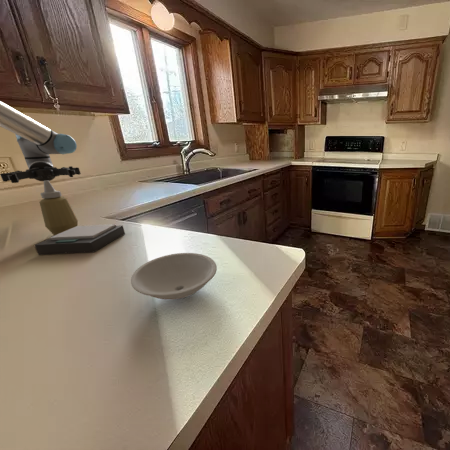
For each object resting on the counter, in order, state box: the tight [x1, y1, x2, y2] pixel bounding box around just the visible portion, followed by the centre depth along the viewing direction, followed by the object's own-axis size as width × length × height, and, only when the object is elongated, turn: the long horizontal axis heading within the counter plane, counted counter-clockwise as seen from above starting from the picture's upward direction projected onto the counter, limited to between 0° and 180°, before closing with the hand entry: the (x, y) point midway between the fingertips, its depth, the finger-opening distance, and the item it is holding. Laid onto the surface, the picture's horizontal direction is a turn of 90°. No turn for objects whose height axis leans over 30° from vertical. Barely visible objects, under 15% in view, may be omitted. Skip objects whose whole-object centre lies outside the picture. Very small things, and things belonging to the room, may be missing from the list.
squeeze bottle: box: [39, 180, 79, 236], centre depth 80 cm, size 8×8×18 cm
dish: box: [130, 252, 218, 301], centre depth 48 cm, size 18×14×5 cm
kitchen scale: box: [33, 223, 126, 256], centre depth 74 cm, size 15×14×4 cm
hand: (44, 175), depth 83 cm, fingers open, 13 cm apart
